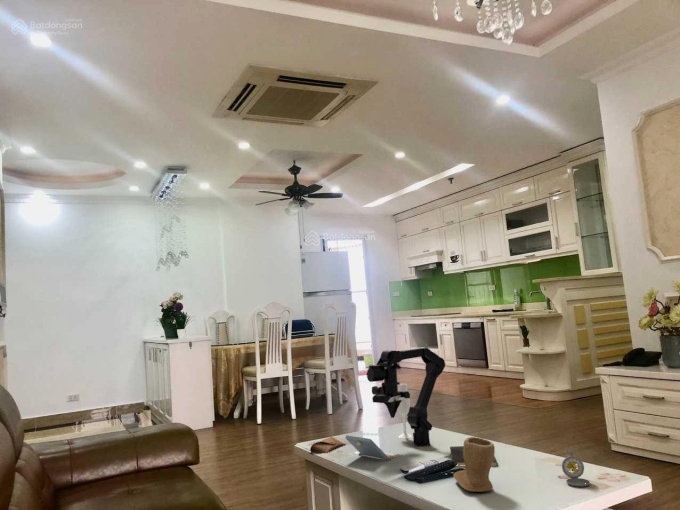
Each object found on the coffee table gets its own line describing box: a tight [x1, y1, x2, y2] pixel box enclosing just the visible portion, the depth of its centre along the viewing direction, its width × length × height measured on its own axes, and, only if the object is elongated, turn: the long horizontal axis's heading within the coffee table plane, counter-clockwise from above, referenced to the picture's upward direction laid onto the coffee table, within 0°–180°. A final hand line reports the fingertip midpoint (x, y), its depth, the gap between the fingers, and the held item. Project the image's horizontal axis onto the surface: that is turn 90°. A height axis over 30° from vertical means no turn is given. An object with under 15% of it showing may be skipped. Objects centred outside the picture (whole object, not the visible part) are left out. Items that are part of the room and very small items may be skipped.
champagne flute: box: [397, 383, 413, 439], centre depth 241 cm, size 7×7×24 cm
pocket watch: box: [561, 447, 591, 488], centre depth 161 cm, size 8×8×10 cm
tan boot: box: [453, 436, 496, 493], centre depth 164 cm, size 15×12×15 cm
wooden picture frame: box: [358, 451, 403, 462], centre depth 205 cm, size 10×16×2 cm, turn 44°
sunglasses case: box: [309, 435, 347, 454], centre depth 226 cm, size 18×7×7 cm, turn 152°
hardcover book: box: [449, 445, 499, 467], centre depth 197 cm, size 16×23×2 cm
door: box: [345, 434, 387, 460], centre depth 199 cm, size 2×13×12 cm
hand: (392, 417), depth 218 cm, fingers closed
